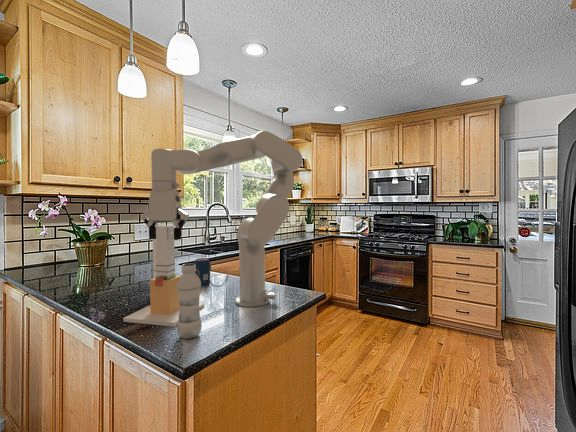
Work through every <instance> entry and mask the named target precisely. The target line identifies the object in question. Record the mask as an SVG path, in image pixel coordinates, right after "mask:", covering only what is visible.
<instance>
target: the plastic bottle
mask: <svg viewBox="0 0 576 432" xmlns="http://www.w3.org/2000/svg"><path fill="white" fill-rule="evenodd" d="M195 271H196V265H195V264H194V263H185V264H182V265H181V273H182V275H180V276H181V277H180V279H179V280H178V283H177V291H178V297H179V321H178V325H177V326H176V330H177V336H178V337H179V338H180V339H183V340H187V339H188V340H191V339H194V338H196V337H198V336H199V335H200V334H201V332H202V327H203V326H202V324H203V323H202V320H201V313H200V310H199V303H200V296H201V290H202V287H201V281H200V279H199V277H198V276H197V275H196V274H195Z"/></svg>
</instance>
